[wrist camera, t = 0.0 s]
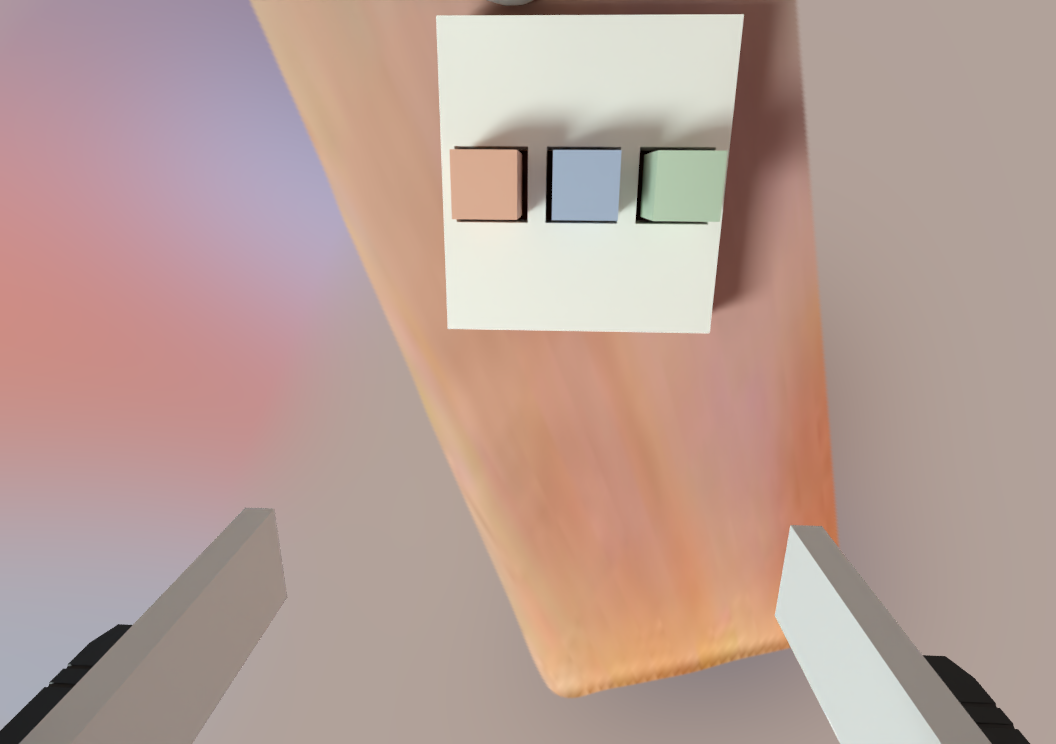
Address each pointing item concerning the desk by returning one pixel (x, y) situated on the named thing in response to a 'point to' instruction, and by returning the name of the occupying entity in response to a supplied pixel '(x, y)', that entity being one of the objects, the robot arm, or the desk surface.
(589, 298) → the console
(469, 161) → the terracotta button
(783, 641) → the desk surface
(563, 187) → the slate button
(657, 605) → the desk surface
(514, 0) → the can
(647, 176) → the sage button
